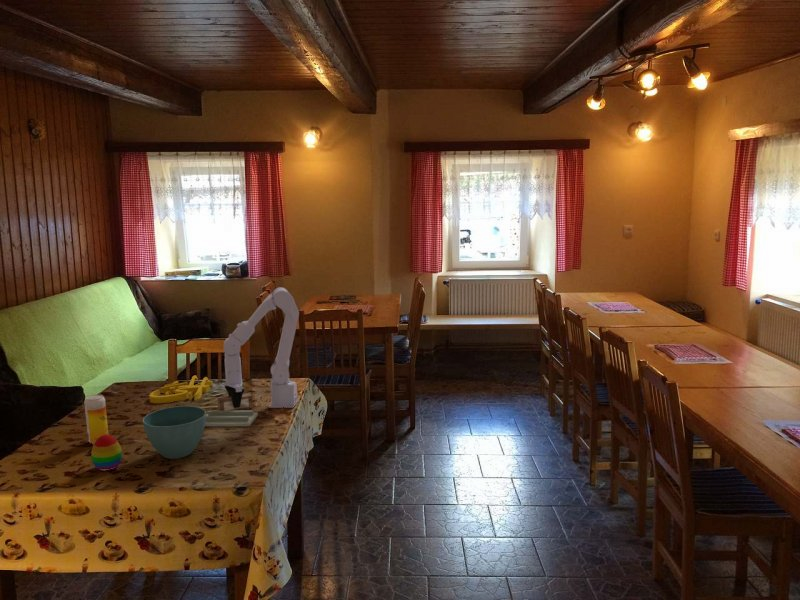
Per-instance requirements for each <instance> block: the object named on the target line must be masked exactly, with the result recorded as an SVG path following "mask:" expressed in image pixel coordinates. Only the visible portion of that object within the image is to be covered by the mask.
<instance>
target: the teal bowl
mask: <svg viewBox="0 0 800 600" xmlns="http://www.w3.org/2000/svg"><path fill="white" fill-rule="evenodd" d="M206 415H207V414H206V410H205V409H204V408H203V407H199V406H195V405H194V406H193V405H179V406H178V405H177V406H171V407H170V406H169V407H165V408H160V409H158V410H155V411H152V412H150V413H148V414H146V416H144V417H143V418H142V424H143V429H144V432H145V434H146V437H147V439H148V441H149V442H150V444H151V446H152V447H153V449H155V450H156V452H157V453H159V454H160V455H161V456H162V457H164V458H166V459H171V460H173V459H174V460H176V459H181V458H182V459H183V458H184V457H187V456H189V455H191V454H192V453H193V452H194V450H195V449H196V447H197V446H198V445H199V442H200V441H201V439H202V436H203V434H204V431H205V427H206V426H205V421H206Z"/></svg>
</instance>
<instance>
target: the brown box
mask: <svg viewBox="0 0 800 600" xmlns="http://www.w3.org/2000/svg"><path fill="white" fill-rule="evenodd" d="M250 408H251V409H254V401H253V395H252V393H250V392H248V393H243V395H242V398H241V404H240V407H238V408H234V406H233V403H232V398H231V396H229V395H228V396H222V397H217V411H238V410H244V409H245V410H250Z"/></svg>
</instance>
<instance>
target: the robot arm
mask: <svg viewBox="0 0 800 600" xmlns="http://www.w3.org/2000/svg"><path fill="white" fill-rule="evenodd" d="M276 306H277V307H278V308H279V309H280V310H282V312H283V313H284V314H285V317H284V321H283V326H282V330H281V335H280V339H279V345H278V349H277V354H276V357H275V358H274V363H273V364H272V365H271V366H270V374H271V380H270V393H271V394H270V396H271V402H270V404H269V406H268V409H269V408H270V409H271V408H272V409H279V408H280V409H281V408H282V409H292V408H293V407H294V406H297V405H296V404H297V403H298V402H299V400H298V387H297V382H296V381H291V380H290V371H289V367H290V358H291V353H292V349H293V343H294V340H295V335H296V330H297V325H298V321H299V316H300V310H299V309H298V307H297V304H296V302H295V299H294V297H293V295H292V294H291V293H290V292H289V291H288V290H287V289H286V288H285V287H280V286H279V287H277V288H275V289H273V291H272V293H270V294H268V295H267V297H266V298H264V299H263V301H262V303H261V304H259V306H258V307H257V308H256V309H255V311H254V312H253V314H252V315H251V316H250V317H249V318H248V320H244V321H241V322H238V323H237V325H236V328H235V330H234V331H232V333H229V335H228V337H227V338H226V339H225V340H224V341H223V351H224V373H225V382H222V386H224V388H225V390H226V393H227V394H228V396H231V398H232V403H233V406H234V408H238V407H240V404H241V398H242V395H243V394H245V388H244V387H243V377H242V364H241V362H242V361H241V358H242V357H241V356H240V351H241V346H243V345H244V344H245V343H247V341H248V340H249V339H250V338H251V336H252V335H253V334H254V333H255V327H256V325H257V324H258V323H259V322H260V321H261V319H263V318H264V316H266V314H267V313H269V312H270V311H274V310H276V309H277V307H276ZM242 387H243V388H242ZM297 401H298V402H297ZM283 407H284V408H283ZM294 408H295V407H294Z"/></svg>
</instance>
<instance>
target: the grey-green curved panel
mask: <svg viewBox="0 0 800 600" xmlns="http://www.w3.org/2000/svg"><path fill="white" fill-rule="evenodd" d="M258 416H259V414H258V412H254V410H250V409H245V410H239V411H218V410H208V411H207V414H206V421H205V427H250V426H251V425H252V424H253V422H254V421H255V420H256V418H257V417H258Z"/></svg>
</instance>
